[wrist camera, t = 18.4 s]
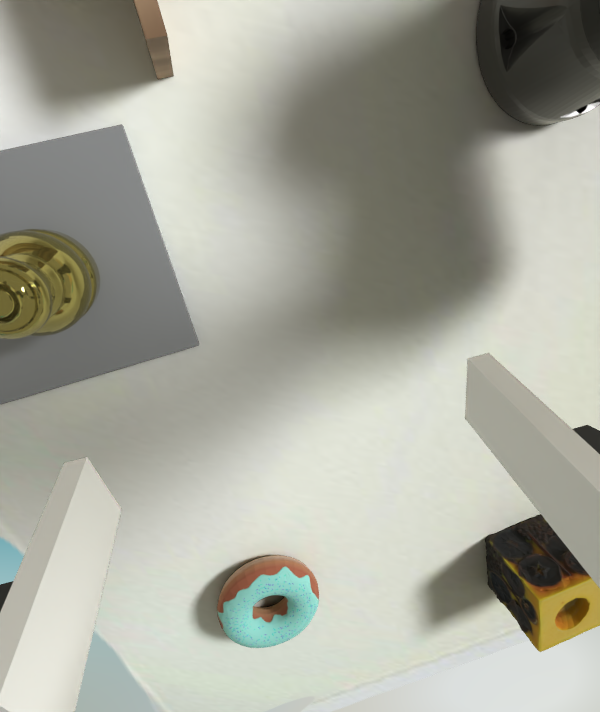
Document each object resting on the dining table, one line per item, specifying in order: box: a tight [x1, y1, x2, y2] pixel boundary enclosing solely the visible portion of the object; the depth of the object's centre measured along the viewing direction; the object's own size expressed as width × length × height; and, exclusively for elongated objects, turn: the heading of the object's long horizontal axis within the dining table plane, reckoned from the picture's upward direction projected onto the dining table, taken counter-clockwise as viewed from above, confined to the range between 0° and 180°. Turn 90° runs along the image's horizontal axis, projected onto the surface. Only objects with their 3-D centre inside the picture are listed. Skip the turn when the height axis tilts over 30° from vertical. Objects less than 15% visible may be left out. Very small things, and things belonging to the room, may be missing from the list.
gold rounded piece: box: [0, 229, 100, 339], centre depth 28 cm, size 7×7×10 cm
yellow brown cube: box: [485, 515, 600, 652], centre depth 54 cm, size 10×10×10 cm
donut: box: [217, 555, 319, 648], centre depth 48 cm, size 12×12×4 cm
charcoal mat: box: [0, 124, 199, 404], centre depth 33 cm, size 18×18×1 cm
